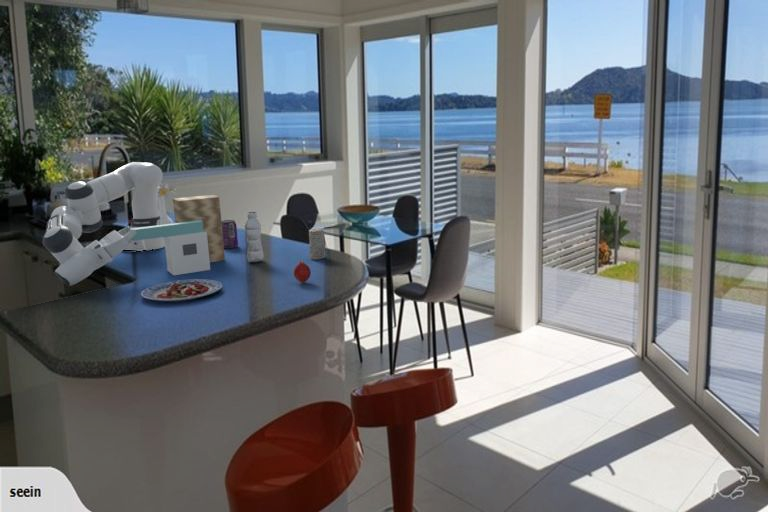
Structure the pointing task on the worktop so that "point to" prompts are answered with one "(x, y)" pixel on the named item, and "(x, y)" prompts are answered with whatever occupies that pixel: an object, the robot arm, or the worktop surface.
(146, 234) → the teal block
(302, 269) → the red pomegranate
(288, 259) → the worktop surface
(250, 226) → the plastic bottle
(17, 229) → the worktop surface
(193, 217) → the oak stand
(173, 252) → the white box
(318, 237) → the carving
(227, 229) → the beverage can
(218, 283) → the ceramic plate
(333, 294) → the worktop surface
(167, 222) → the flower vase
